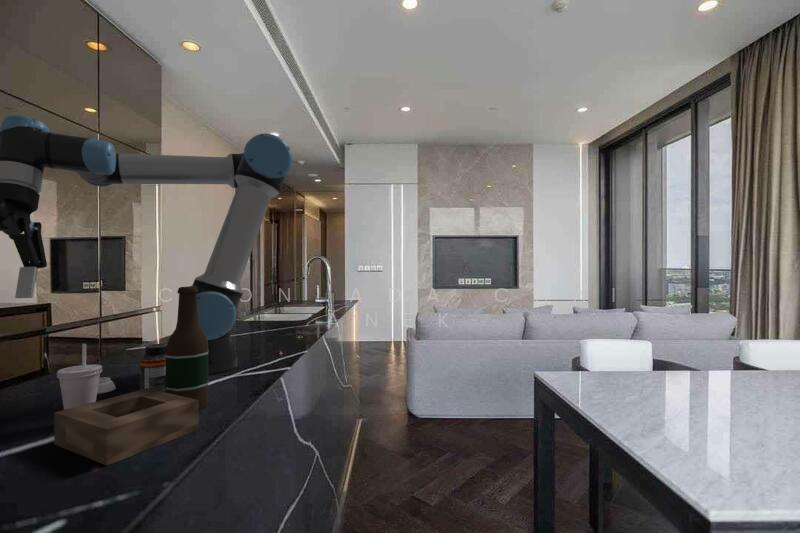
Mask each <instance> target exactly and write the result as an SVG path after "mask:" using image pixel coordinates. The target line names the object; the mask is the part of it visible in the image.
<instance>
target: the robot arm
mask: <svg viewBox="0 0 800 533" xmlns="http://www.w3.org/2000/svg"><path fill="white" fill-rule="evenodd" d="M293 159H294V158H293V153H292V150H291V148H290V146H289V145H288V143H287V142H285V140H284V139H282V138H281V137H279V136H277V135H275V134H271V133H259V134H256V135H253V137H251V138H250V139H249V140H248V141H247V142H246V144H245V146H244V151H243V152H242V153H229V154H228V155H227V156H205V155H203V156H198V155H197V156H196V155H167V154H142V153H141V154H139V153H138V154H136V153H135V154H134V153H116V148H115V145H113V143H112V142H110V141H106V140H100V139H97V138H91V137H89V138H88V137H81V136H76V135H75V136H74V135H67V134H59V133H56V132H55V133H53V132H50V129H49V127H48V126H47V125H46V123H44V122H42V121H40V120H38V119H36V118H31V117H29V116H26V115H21V114H11V115H8V116H5V117H4V118H3V119H2V121H1V124H0V232H3V233H4V234H5V235H7V236H8V238H9V239H10V240H12V241H13V243H14V245H15V247H16V250H17V253H18V256H19V258H20V260H21V263H22V265H23V266H21V267H19V269H18V271H19V272H18V278H17V284H16V289H15V290H16V291H15V296H14V298H15V299H33V298H34V293H35V286H36V281H37V276H38V270H39V269H45V268H46V267H47V266H48V263H47V257H46V253H45V247H44V241H43V236H42V228H43V226H42V223H41V221H39V222H38V221H32V220H31V214H32V213H33V214H34V212H36V211H37V210H38V209H39V202H40V196H41V195H40V193H41V191H42V187H43V186H42V184H43V178H44V170H45V168H46V169H47V168H48V169H53V170H62V171H63V170H64V171H70V172H71V171H72V172H75V173H76V174H77V175H79V176H80V177H81V179H83V180H84V181H85V182H87V183H88V184H89V185H90V184H91V185H93V186H96V187H100V188H101V187H103V188H105V187H109V186H111V185H121V184H122V185H123V184H126V185H127V184H130V185H132V184H133V185H137V184H138V185H139V184H140V185H143V184H145V185H228V186H230V187H231V189H236V190H235V192H234V195H233V198H232V201H231V203H230V205H229V208H228V211H227V213H226V216H225V219H224V222H223V223H222V226H221V229H220V232H219V234H218V237H217V239H216V241H215V245H214V247H213V250H212V252H211V255H210V257H209V261H207V262H208V263H207V266H206V268H205V271H204V273H203V274H201V275H198V276H196V277H195V278H194V280H193V283H192V285H189V286H187V287H197V289H198V292H197V293H196V295H197V310H198V321H199V326H200V328H201V329H202V330H203V332H204V333H205V335H206V338H207V340H208V375H211V374H217V373H218V374H219V373H223V372H227V371H230V370H233V369H235V368H237V366H238V357H237V355H236V351H235V348H234V345H233V342H232V340H231V339H232V338H231V329H232V328H233V326H234V325H235V323H236V320H237V311H238V308H239V305H240V303H241V299H242V296H243V294H244V290H243V289H242V287H241V281H242V278H243V275H244V273H245V270H246V267H247V265H248V262H249V259H250V256H251V253H252V251H253V249H254V245H255V242H256V240H257V238H258V235H259V232H260V229H261V227H262V224H263V221H264V218H265V216H266V213H267V210H268V207H269V205H270V203H271V202H270V201H272V199H274V198H277V197H279V195H280V193H281V190H282V187H283V185H284V183H285V182H284V181H285V179H286V176H287V174H288V173H289V172H290V170H292V167H293Z"/></svg>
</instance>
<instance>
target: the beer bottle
mask: <svg viewBox="0 0 800 533" xmlns="http://www.w3.org/2000/svg"><path fill="white" fill-rule="evenodd" d="M197 292H198V289H197V287H188V286H181V287H178V290H177V292H176V293H177V294H178V307H177V320H176V326H175V329H174V331H173V332H172V334H171V335H170V337H169V339H168V341H167V343H166V344H167V347H166V393H169V394H174V395H178V396H183V397H188V398H192V399H197V400H199V411H201V410H203V409H207V406H208V402H209V374H208V340H207V338H206V335H205V333H204V332H203V330H202V329H201V328H200V326H199V321H198V310H197V295H196V293H197Z"/></svg>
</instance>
